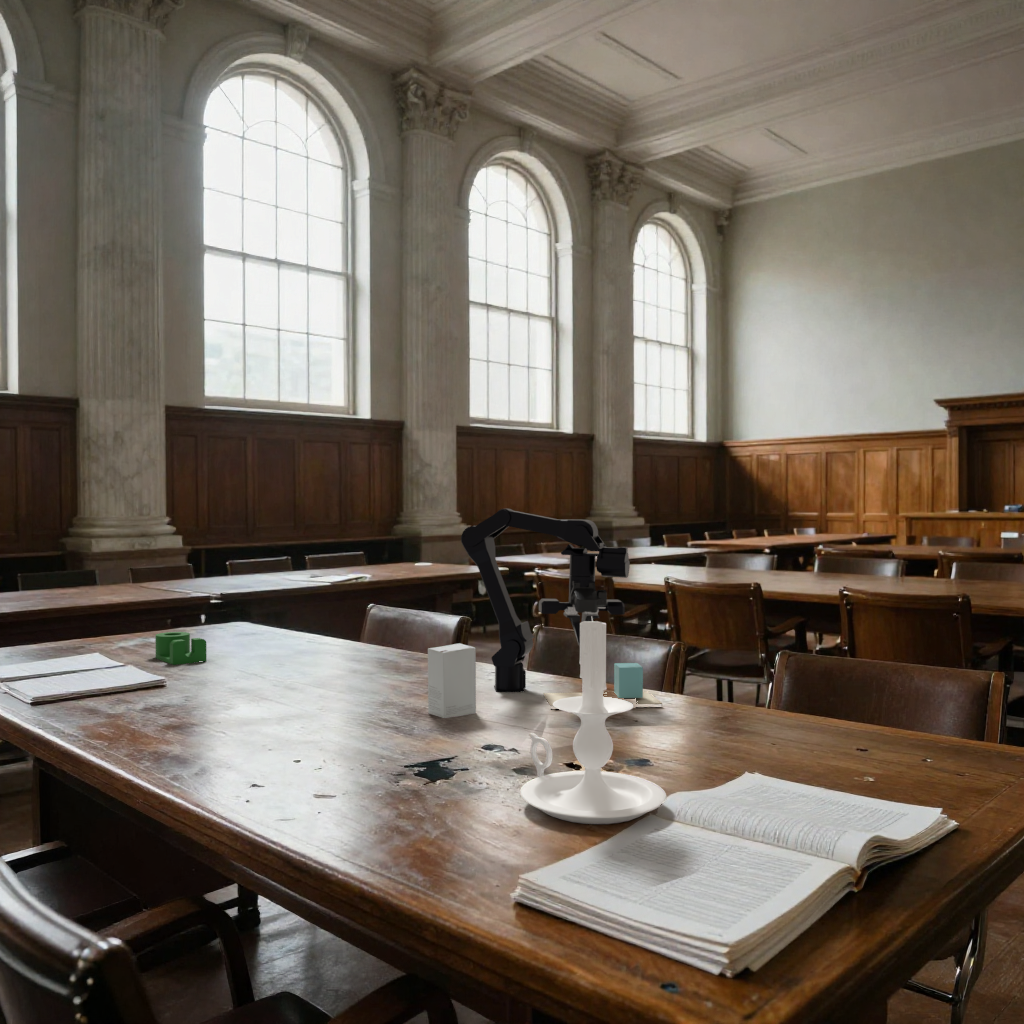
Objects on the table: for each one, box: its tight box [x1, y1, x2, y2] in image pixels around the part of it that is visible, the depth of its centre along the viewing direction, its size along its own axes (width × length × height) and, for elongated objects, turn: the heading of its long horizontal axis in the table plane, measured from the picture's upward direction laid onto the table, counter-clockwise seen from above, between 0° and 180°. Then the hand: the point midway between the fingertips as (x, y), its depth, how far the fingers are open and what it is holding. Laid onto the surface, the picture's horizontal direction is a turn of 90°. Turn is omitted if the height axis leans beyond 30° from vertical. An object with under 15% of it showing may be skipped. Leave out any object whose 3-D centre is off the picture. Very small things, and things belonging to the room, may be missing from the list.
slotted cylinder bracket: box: [155, 631, 207, 666], centre depth 256 cm, size 18×9×6 cm, turn 39°
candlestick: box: [519, 616, 668, 825], centre depth 133 cm, size 21×25×28 cm
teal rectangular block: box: [613, 662, 644, 698], centre depth 203 cm, size 5×5×7 cm
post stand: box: [542, 690, 663, 707], centre depth 202 cm, size 24×12×8 cm, turn 96°
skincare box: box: [427, 642, 477, 719], centre depth 186 cm, size 8×6×15 cm
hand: (580, 644), depth 208 cm, fingers closed
